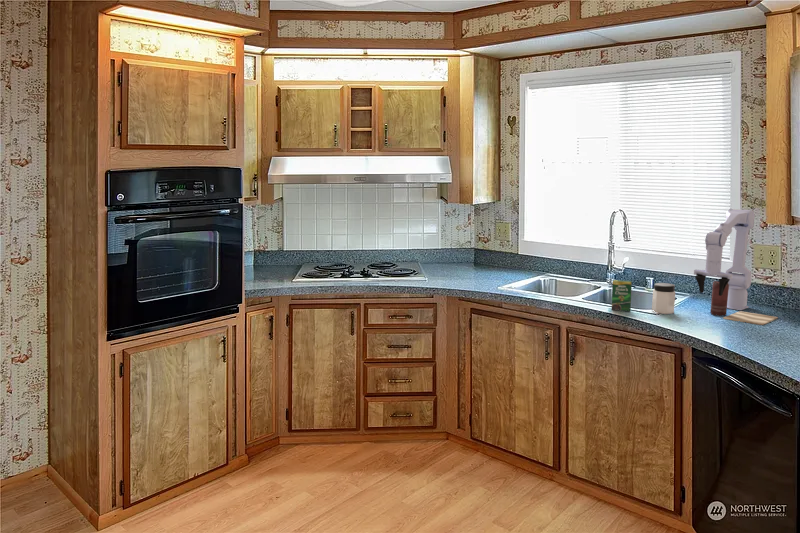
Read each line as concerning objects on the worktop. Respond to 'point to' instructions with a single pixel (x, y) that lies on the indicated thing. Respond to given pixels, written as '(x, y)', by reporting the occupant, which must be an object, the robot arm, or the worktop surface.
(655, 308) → the jar
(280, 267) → the worktop surface
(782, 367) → the worktop surface
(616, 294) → the green cardboard box
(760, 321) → the wooden cutting board
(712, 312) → the can
